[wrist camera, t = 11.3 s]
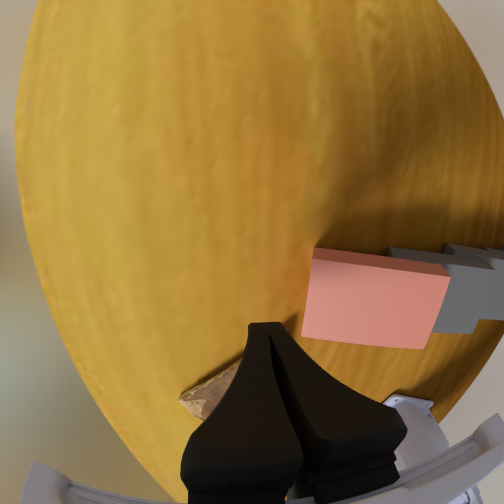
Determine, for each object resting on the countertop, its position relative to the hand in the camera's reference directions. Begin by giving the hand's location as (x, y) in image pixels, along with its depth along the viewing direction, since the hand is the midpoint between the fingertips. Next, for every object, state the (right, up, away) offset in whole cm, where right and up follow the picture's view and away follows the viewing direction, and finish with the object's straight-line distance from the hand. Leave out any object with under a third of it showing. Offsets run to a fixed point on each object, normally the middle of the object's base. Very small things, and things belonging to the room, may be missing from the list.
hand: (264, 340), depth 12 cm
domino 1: (+8, +2, +5) cm, 9 cm away
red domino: (+3, +1, +4) cm, 5 cm away
